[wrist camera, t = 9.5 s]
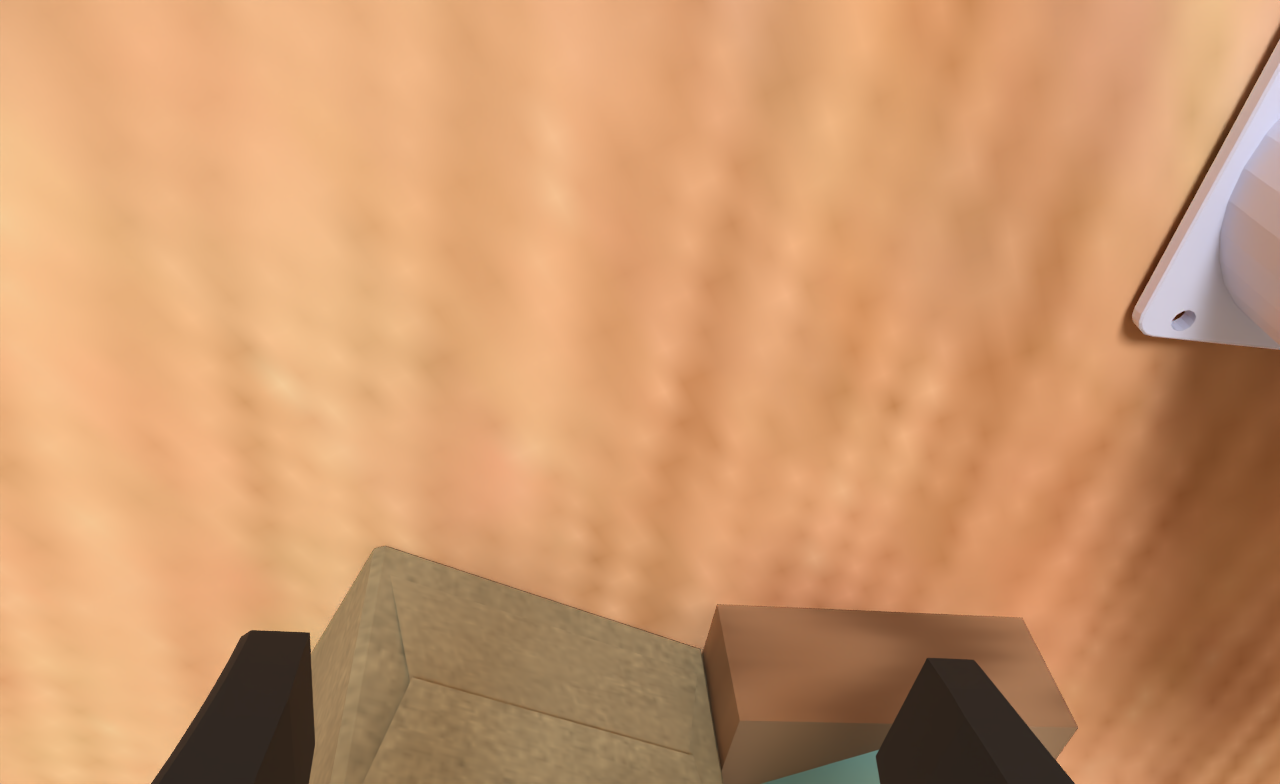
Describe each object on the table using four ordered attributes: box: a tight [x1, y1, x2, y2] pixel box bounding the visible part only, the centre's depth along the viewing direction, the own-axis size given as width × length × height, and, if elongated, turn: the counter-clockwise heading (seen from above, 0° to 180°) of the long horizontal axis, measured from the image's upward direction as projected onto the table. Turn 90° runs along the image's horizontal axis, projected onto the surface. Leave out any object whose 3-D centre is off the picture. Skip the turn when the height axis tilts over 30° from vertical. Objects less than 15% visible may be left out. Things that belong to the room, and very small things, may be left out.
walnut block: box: [702, 604, 1078, 784], centre depth 28 cm, size 9×9×4 cm
